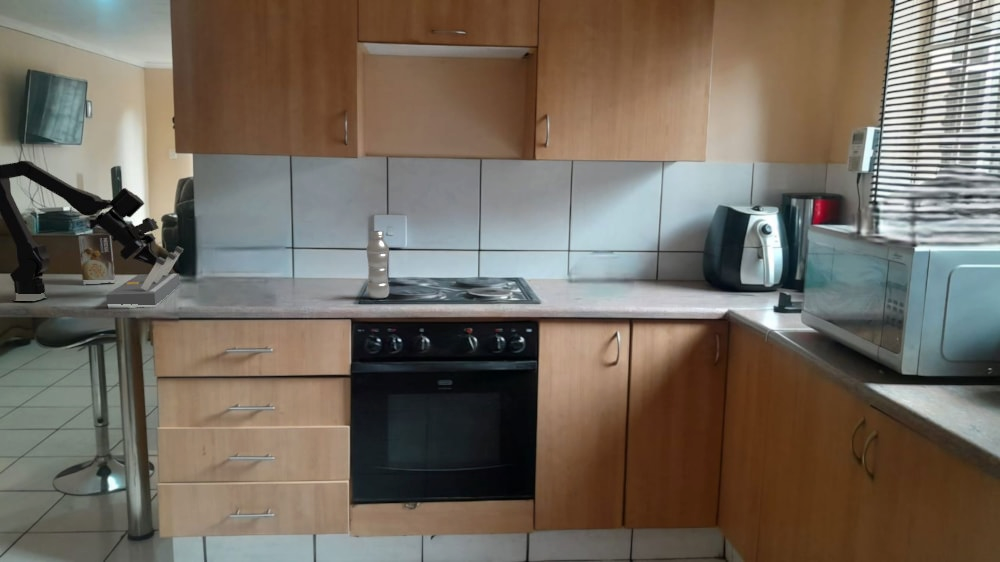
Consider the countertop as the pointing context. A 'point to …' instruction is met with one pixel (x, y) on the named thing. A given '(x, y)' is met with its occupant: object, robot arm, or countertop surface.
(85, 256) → the coffee box
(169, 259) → the lever
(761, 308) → the countertop surface
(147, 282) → the lever
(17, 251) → the robot arm
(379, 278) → the plastic bottle
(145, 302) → the breaker panel
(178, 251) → the lever
